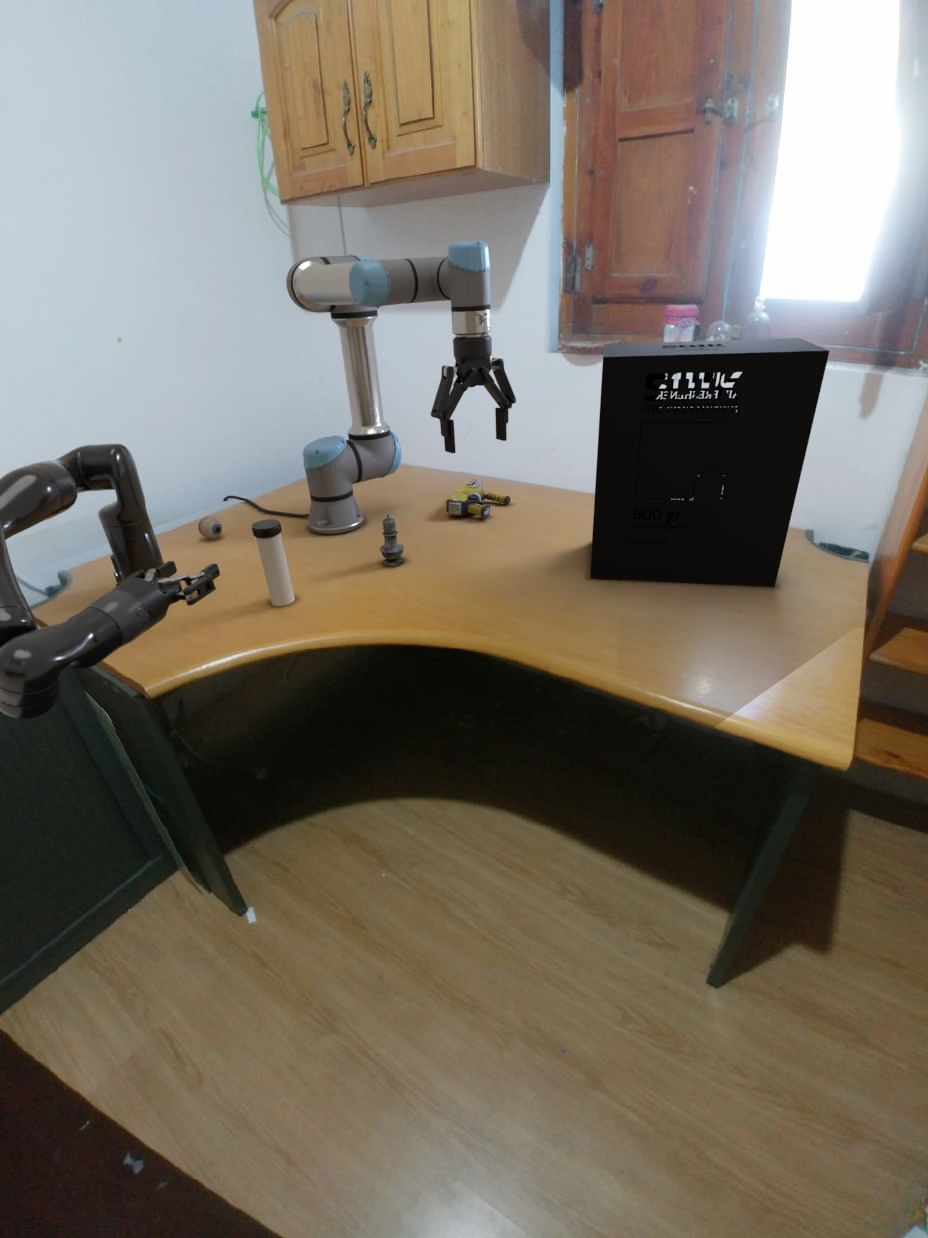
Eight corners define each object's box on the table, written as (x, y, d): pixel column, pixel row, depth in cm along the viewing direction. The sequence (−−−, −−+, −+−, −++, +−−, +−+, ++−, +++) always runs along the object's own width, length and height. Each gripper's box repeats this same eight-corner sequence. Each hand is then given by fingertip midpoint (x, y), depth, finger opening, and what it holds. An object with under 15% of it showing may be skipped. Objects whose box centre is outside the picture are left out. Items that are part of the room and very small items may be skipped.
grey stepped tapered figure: (401, 567, 143) (396, 519, 137) (378, 566, 144) (371, 518, 138) (408, 556, 148) (403, 510, 142) (385, 556, 149) (379, 509, 143)
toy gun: (518, 484, 183) (472, 477, 187) (496, 507, 163) (444, 499, 167) (517, 499, 185) (471, 492, 189) (494, 524, 165) (443, 515, 169)
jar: (285, 607, 128) (267, 531, 120) (266, 604, 130) (248, 529, 121) (299, 597, 132) (283, 523, 123) (281, 594, 134) (264, 520, 125)
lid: (269, 539, 120) (267, 530, 119) (247, 536, 122) (245, 527, 121) (287, 529, 124) (285, 520, 123) (265, 526, 127) (263, 517, 126)
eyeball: (211, 543, 162) (206, 522, 159) (197, 539, 165) (190, 519, 162) (230, 535, 166) (224, 515, 163) (215, 532, 169) (209, 511, 166)
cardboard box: (755, 547, 142) (798, 337, 120) (774, 586, 125) (829, 350, 102) (592, 542, 150) (603, 344, 127) (589, 578, 133) (603, 356, 110)
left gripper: (95, 631, 92) (167, 584, 105) (173, 639, 88) (237, 589, 101) (76, 587, 88) (153, 544, 101) (157, 594, 84) (226, 548, 98)
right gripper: (429, 342, 108) (437, 460, 118) (533, 329, 120) (532, 437, 131) (407, 340, 113) (417, 454, 124) (508, 328, 125) (510, 432, 136)
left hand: (195, 567), depth 101 cm, fingers open, 8 cm apart
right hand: (476, 445), depth 127 cm, fingers open, 13 cm apart
